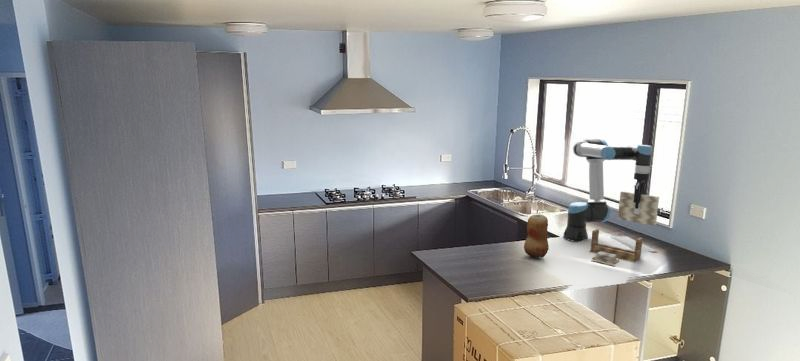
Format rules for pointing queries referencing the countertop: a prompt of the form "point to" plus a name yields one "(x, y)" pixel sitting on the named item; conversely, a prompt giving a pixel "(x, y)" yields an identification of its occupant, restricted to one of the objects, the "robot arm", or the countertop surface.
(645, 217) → the patterned board
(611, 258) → the grey mdf offcut
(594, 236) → the oak rack
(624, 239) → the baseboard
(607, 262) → the grey textured block
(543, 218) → the butternut squash
